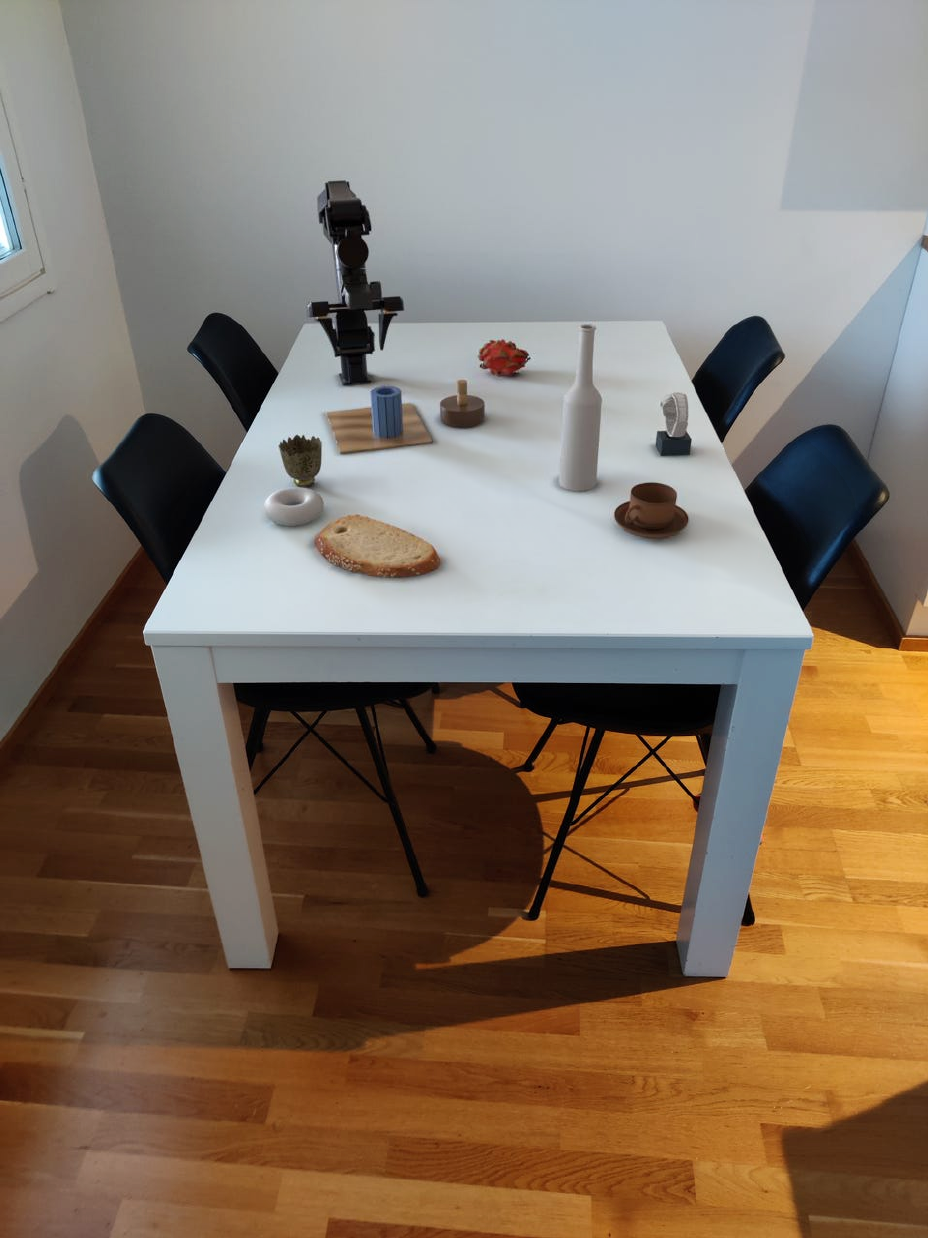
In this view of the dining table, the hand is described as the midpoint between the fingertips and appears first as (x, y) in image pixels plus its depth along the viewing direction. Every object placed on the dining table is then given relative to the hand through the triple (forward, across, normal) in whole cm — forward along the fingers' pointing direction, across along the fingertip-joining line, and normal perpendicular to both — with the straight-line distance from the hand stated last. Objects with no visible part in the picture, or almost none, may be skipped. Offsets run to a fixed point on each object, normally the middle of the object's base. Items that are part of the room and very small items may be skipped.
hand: (359, 351), depth 189 cm
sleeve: (+15, +3, -10) cm, 18 cm away
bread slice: (+28, -9, -52) cm, 59 cm away
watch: (+21, +53, -32) cm, 65 cm away
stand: (+14, +19, -7) cm, 25 cm away
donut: (+24, -19, -36) cm, 47 cm away
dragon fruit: (+8, +35, +14) cm, 39 cm away
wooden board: (+14, +1, -6) cm, 16 cm away
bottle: (+23, +31, -39) cm, 55 cm away
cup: (+20, -16, -26) cm, 37 cm away
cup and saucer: (+28, +36, -57) cm, 73 cm away
